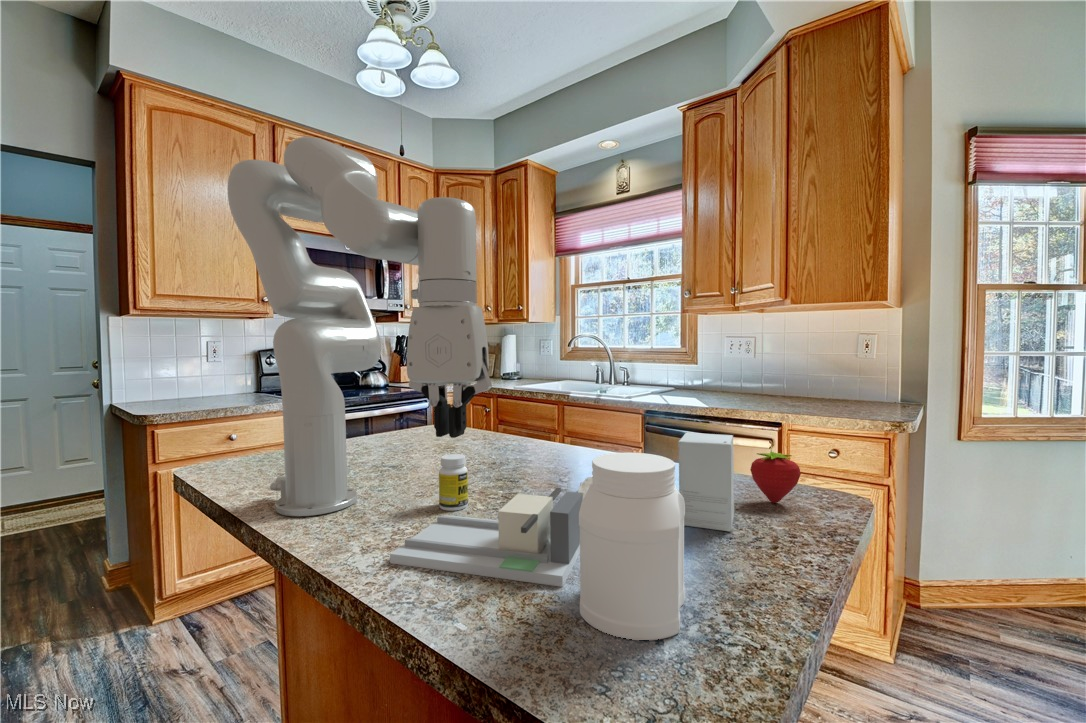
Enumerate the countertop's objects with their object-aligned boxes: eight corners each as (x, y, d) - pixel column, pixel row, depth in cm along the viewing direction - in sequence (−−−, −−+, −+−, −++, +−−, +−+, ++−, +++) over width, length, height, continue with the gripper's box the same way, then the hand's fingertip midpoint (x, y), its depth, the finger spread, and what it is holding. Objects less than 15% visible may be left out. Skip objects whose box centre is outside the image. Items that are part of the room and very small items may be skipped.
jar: (676, 650, 43) (676, 481, 42) (572, 629, 46) (570, 472, 46) (686, 587, 54) (686, 452, 53) (601, 574, 57) (600, 446, 56)
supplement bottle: (462, 512, 78) (461, 460, 78) (434, 510, 79) (433, 459, 79) (472, 502, 83) (471, 453, 83) (446, 501, 84) (445, 452, 84)
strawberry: (803, 511, 77) (803, 448, 76) (751, 506, 79) (751, 445, 79) (797, 499, 82) (798, 440, 82) (749, 495, 85) (749, 438, 84)
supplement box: (735, 515, 75) (735, 434, 75) (731, 533, 68) (731, 444, 68) (685, 509, 78) (685, 431, 78) (677, 525, 72) (677, 440, 71)
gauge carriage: (485, 566, 56) (484, 523, 56) (527, 519, 71) (527, 485, 70) (526, 572, 54) (526, 527, 54) (561, 522, 69) (560, 487, 69)
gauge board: (390, 563, 60) (388, 505, 60) (444, 522, 74) (443, 475, 74) (562, 586, 54) (561, 522, 54) (587, 537, 67) (587, 486, 67)
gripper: (380, 296, 63) (383, 438, 64) (491, 292, 58) (493, 444, 59) (411, 300, 70) (414, 428, 71) (513, 297, 66) (514, 433, 66)
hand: (450, 434), depth 65 cm, fingers closed
